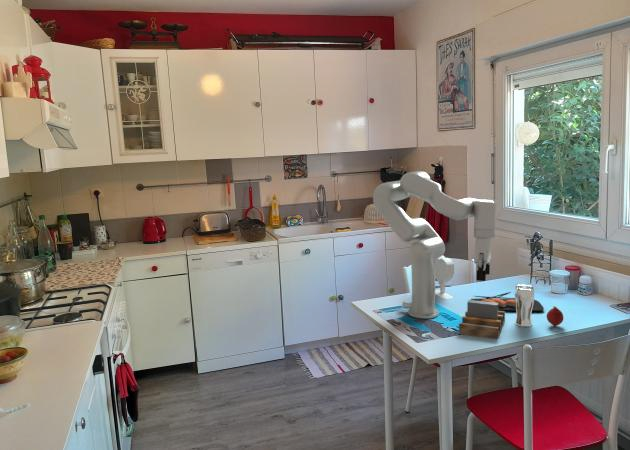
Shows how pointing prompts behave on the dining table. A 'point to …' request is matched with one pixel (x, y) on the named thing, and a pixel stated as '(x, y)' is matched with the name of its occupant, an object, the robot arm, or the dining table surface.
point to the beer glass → (524, 305)
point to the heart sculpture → (443, 274)
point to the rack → (482, 326)
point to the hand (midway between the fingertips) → (483, 277)
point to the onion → (555, 316)
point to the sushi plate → (508, 303)
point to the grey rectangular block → (482, 309)
